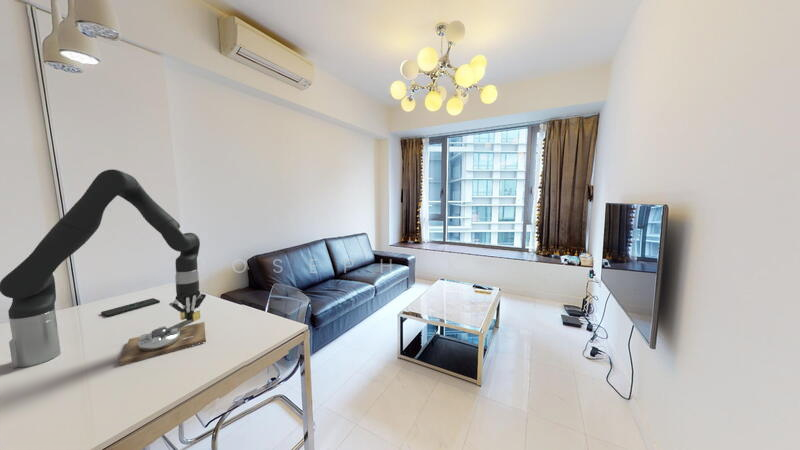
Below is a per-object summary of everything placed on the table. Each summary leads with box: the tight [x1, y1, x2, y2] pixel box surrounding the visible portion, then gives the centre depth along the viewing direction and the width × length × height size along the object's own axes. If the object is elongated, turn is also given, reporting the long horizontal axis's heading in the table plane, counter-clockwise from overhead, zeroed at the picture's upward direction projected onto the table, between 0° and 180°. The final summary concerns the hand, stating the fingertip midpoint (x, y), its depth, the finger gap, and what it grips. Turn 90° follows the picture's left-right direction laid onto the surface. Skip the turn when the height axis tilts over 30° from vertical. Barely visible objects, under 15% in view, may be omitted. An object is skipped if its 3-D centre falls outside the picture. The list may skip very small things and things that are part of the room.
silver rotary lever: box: [138, 310, 201, 351], centre depth 103 cm, size 12×20×7 cm, turn 167°
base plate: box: [118, 321, 207, 366], centre depth 103 cm, size 24×18×2 cm
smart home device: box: [100, 297, 161, 318], centre depth 133 cm, size 8×2×20 cm
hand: (189, 319), depth 110 cm, fingers closed
